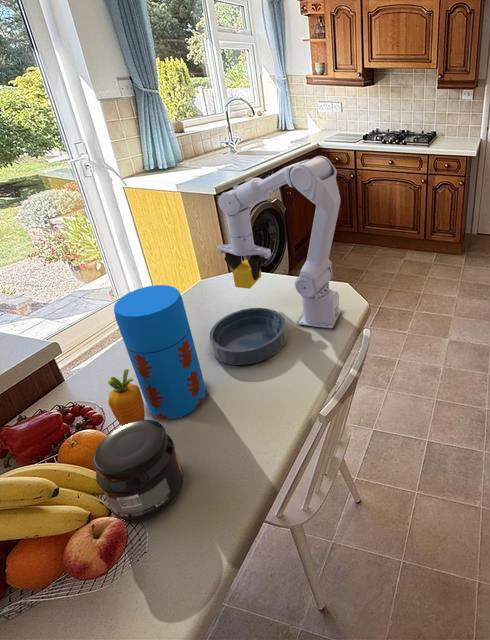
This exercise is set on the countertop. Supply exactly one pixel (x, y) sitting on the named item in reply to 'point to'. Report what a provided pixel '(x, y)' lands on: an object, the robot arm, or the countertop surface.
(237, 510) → the countertop surface
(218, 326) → the bowl
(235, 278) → the sponge
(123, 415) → the carrot
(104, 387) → the countertop surface
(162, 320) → the thermos
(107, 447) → the supplement container
